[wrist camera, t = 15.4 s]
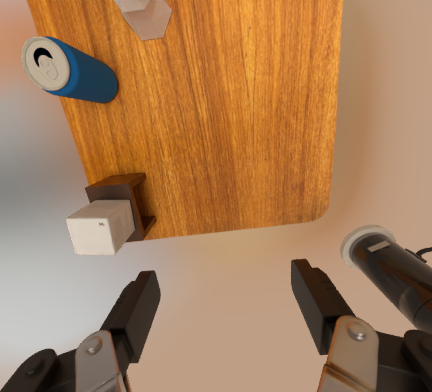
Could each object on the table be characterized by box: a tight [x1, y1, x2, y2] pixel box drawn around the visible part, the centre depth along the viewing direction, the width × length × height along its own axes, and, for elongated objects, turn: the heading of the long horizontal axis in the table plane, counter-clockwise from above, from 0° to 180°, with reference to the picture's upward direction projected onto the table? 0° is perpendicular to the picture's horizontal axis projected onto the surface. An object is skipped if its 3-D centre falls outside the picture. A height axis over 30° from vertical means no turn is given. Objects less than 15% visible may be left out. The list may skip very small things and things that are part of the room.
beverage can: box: [21, 36, 117, 103], centre depth 30 cm, size 6×6×12 cm
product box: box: [66, 200, 135, 255], centre depth 32 cm, size 6×6×7 cm
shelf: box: [85, 173, 156, 242], centre depth 39 cm, size 8×11×8 cm
